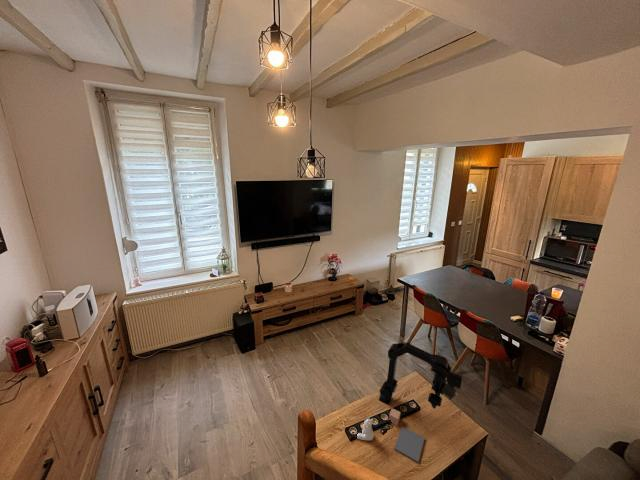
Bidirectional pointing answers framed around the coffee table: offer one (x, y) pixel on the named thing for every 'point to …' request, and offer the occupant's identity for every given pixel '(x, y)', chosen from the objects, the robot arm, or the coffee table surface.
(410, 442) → the charcoal mat
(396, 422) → the terracotta cube
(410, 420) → the coffee table surface
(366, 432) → the white creature statuette
